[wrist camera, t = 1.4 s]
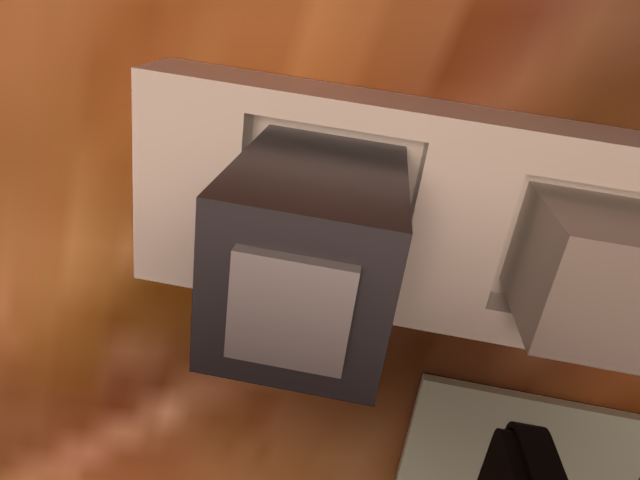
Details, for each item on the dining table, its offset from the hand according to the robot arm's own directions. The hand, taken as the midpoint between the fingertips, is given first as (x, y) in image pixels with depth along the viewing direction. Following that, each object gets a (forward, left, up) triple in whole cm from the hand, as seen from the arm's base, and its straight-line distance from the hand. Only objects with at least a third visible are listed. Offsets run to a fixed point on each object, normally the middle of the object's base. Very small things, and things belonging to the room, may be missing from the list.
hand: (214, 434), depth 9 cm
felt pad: (-12, +14, -15) cm, 23 cm away
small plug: (-10, 0, -13) cm, 16 cm away
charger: (-1, 0, -13) cm, 13 cm away
